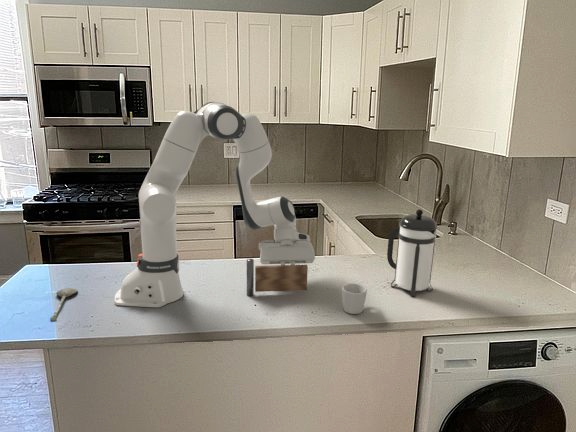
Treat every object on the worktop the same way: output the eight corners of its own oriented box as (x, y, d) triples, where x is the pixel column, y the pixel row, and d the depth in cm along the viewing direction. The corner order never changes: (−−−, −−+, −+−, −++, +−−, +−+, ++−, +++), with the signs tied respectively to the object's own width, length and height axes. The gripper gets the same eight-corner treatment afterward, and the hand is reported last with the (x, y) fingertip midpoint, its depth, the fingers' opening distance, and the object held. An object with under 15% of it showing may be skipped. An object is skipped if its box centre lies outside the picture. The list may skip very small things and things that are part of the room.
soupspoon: (80, 292, 153) (60, 294, 152) (79, 283, 153) (58, 285, 151) (64, 320, 133) (41, 323, 131) (63, 310, 132) (39, 313, 130)
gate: (255, 291, 151) (255, 267, 148) (255, 289, 152) (255, 265, 150) (306, 290, 153) (307, 266, 151) (306, 288, 154) (307, 264, 152)
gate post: (246, 296, 150) (246, 261, 147) (246, 293, 153) (246, 258, 149) (253, 296, 151) (253, 261, 147) (253, 293, 153) (253, 258, 150)
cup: (353, 300, 150) (354, 278, 148) (374, 307, 145) (375, 285, 143) (336, 311, 142) (337, 288, 140) (357, 319, 137) (359, 295, 135)
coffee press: (431, 282, 166) (440, 205, 158) (433, 300, 151) (443, 216, 143) (385, 276, 170) (391, 201, 162) (382, 293, 155) (389, 212, 147)
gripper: (258, 236, 160) (260, 271, 153) (313, 235, 163) (317, 270, 156) (258, 244, 166) (259, 278, 159) (311, 243, 168) (314, 276, 161)
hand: (288, 274), depth 157 cm, fingers closed
